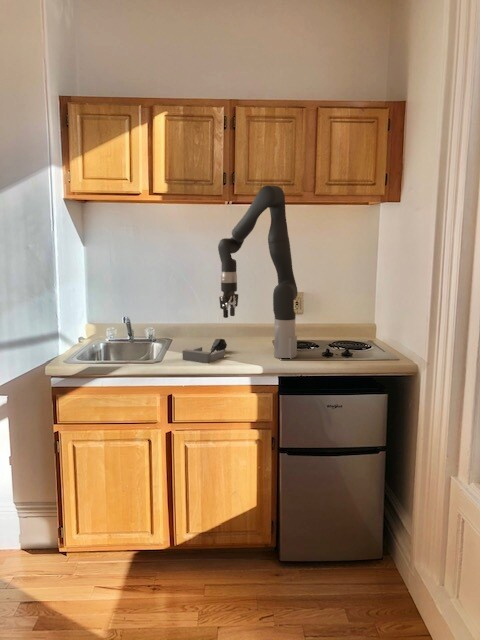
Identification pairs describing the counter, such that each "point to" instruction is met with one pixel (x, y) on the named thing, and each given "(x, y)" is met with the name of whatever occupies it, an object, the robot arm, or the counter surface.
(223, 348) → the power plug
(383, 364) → the counter surface
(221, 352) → the socket bay
